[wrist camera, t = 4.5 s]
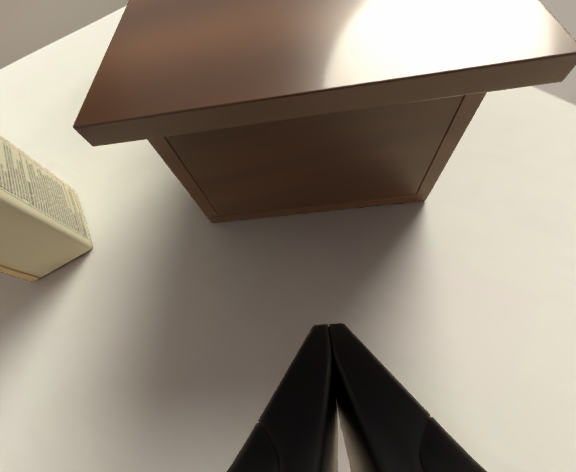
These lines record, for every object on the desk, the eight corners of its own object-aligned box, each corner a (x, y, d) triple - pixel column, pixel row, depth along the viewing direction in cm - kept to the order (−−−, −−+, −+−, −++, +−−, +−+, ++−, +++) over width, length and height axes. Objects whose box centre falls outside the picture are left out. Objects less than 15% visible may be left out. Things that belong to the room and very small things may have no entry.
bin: (425, 201, 17) (521, 33, 8) (211, 223, 18) (113, 96, 10) (393, 102, 21) (436, -75, 13) (221, 126, 22) (157, -20, 14)
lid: (563, 82, 7) (588, 51, 7) (92, 147, 9) (71, 127, 8) (437, -77, 13) (443, -104, 12) (156, -22, 14) (147, -43, 13)
